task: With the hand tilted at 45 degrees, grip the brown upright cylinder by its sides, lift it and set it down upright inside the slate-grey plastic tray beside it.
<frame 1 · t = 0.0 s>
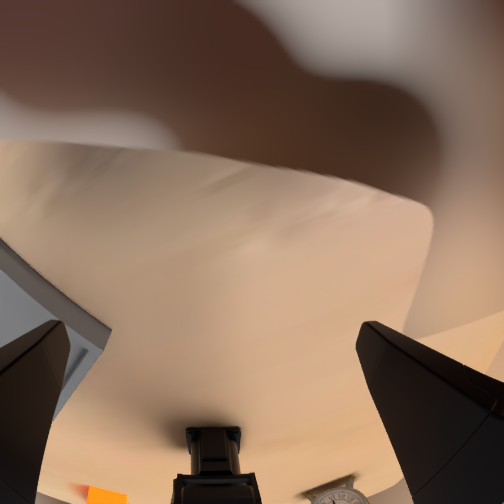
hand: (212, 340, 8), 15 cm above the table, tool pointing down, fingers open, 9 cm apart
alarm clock: (330, 485, 44), on the table
tray: (13, 323, 23), on the table
orange juice: (110, 496, 39), on the table
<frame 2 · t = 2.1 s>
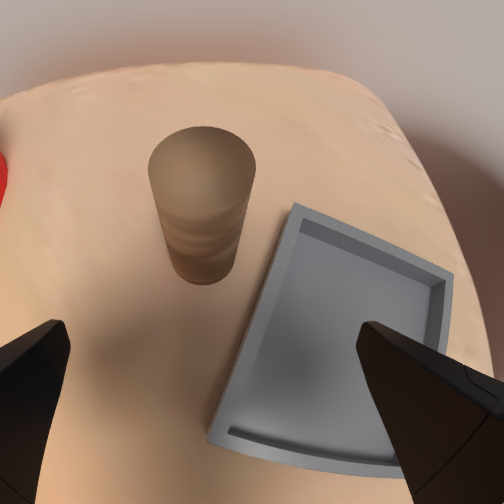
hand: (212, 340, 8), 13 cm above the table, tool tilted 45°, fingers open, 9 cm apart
tray: (345, 353, 22), on the table
brown upright cylinder: (202, 254, 23), on the table
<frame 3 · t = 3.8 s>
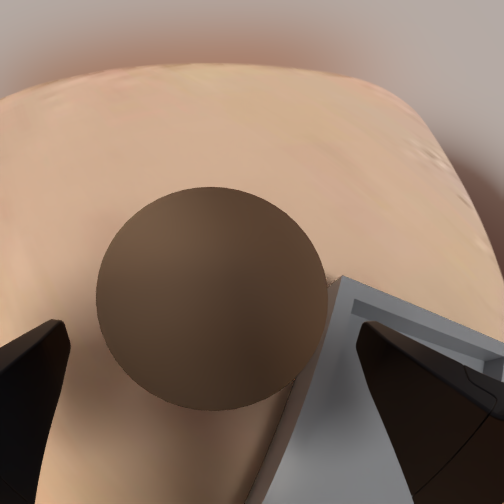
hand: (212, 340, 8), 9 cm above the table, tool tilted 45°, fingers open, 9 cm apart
tray: (389, 455, 14), on the table
brown upright cylinder: (210, 345, 16), on the table
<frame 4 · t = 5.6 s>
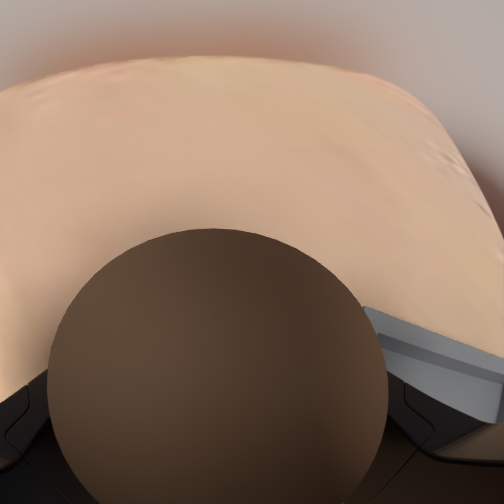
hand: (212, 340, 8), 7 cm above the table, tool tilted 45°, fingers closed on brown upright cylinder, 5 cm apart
tray: (403, 489, 12), on the table
brown upright cylinder: (211, 383, 13), on the table, touching gripper
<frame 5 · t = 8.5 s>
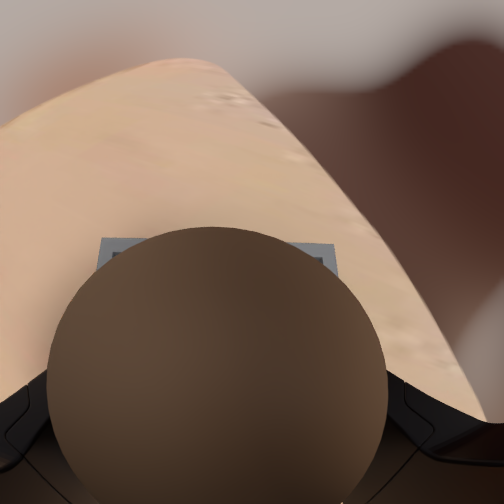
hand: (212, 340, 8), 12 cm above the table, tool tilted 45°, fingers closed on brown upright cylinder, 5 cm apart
tray: (217, 381, 19), on the table
brown upright cylinder: (211, 382, 13), point 6 cm above the table, touching gripper
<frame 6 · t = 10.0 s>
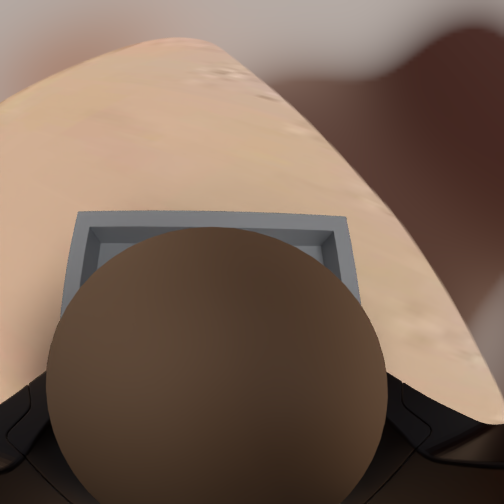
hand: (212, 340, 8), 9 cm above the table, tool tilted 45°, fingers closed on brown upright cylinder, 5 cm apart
tray: (211, 380, 16), on the table
brown upright cylinder: (211, 382, 13), point 2 cm above the table, touching gripper
when the fingers open (9 cm above the table, at t = 10.2 s): brown upright cylinder drops 2 cm, resting on tray.
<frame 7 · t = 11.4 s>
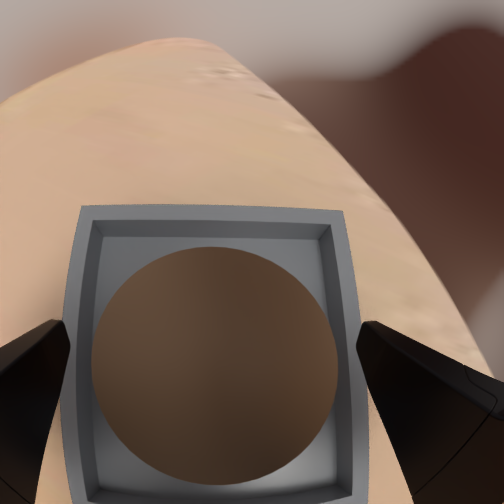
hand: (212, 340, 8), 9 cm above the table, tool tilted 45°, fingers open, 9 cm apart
tray: (211, 371, 16), on the table
brown upright cylinder: (211, 371, 15), point 1 cm above the table, touching tray
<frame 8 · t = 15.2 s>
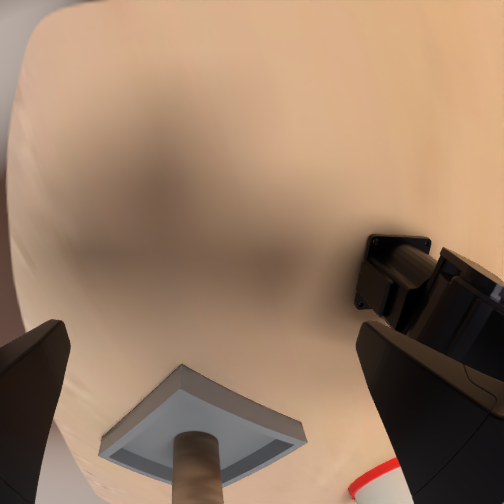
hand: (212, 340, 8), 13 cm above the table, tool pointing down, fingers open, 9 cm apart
tray: (195, 437, 29), on the table
brown upright cylinder: (196, 442, 28), point 1 cm above the table, touching tray
container: (384, 473, 43), on the table
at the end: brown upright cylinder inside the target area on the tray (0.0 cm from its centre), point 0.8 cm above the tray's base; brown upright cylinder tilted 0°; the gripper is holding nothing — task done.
